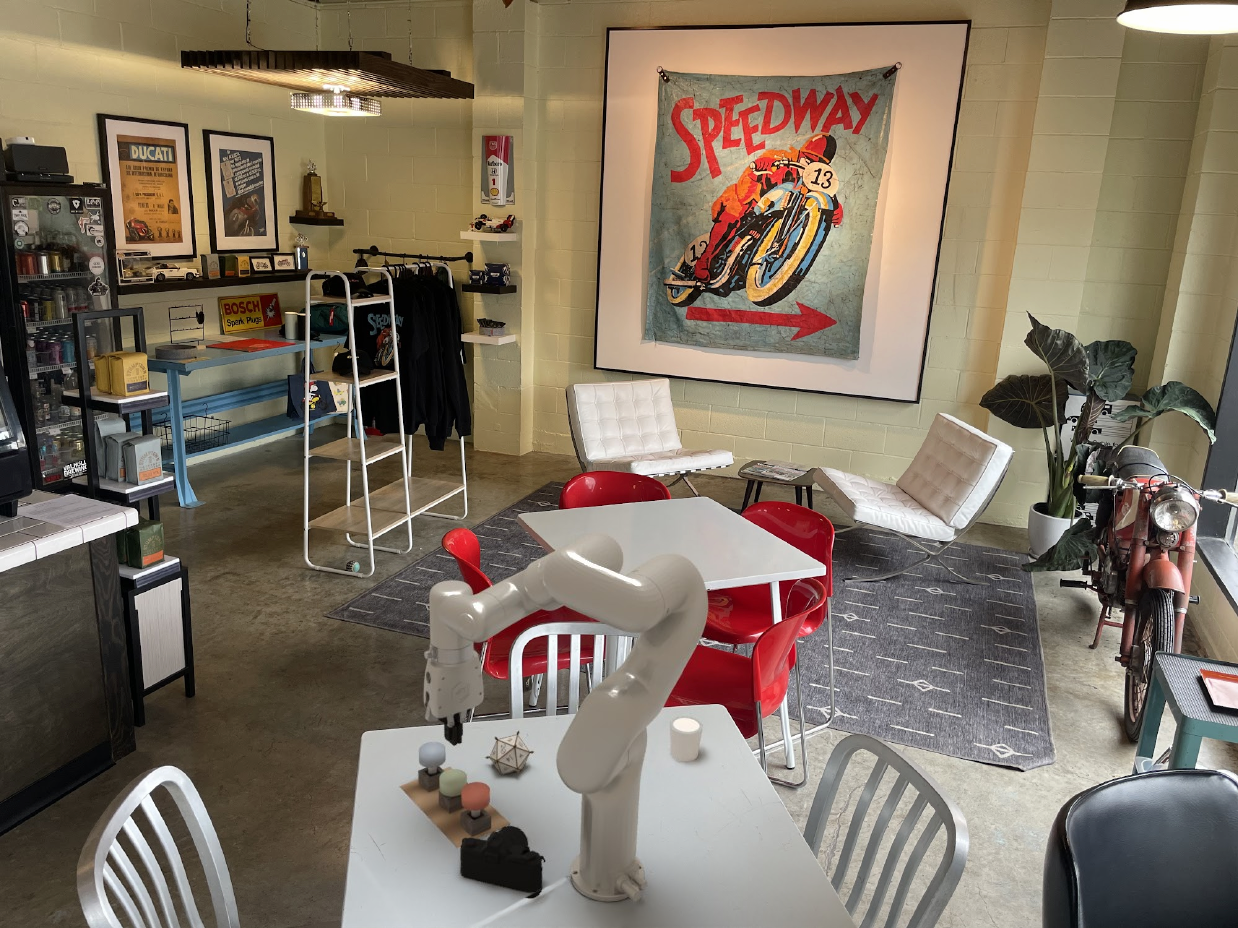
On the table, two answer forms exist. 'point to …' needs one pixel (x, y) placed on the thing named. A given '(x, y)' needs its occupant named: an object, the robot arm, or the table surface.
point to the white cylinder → (685, 738)
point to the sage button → (452, 782)
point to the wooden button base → (451, 809)
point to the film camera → (503, 861)
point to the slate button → (432, 756)
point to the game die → (509, 754)
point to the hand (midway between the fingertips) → (453, 740)
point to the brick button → (475, 797)
